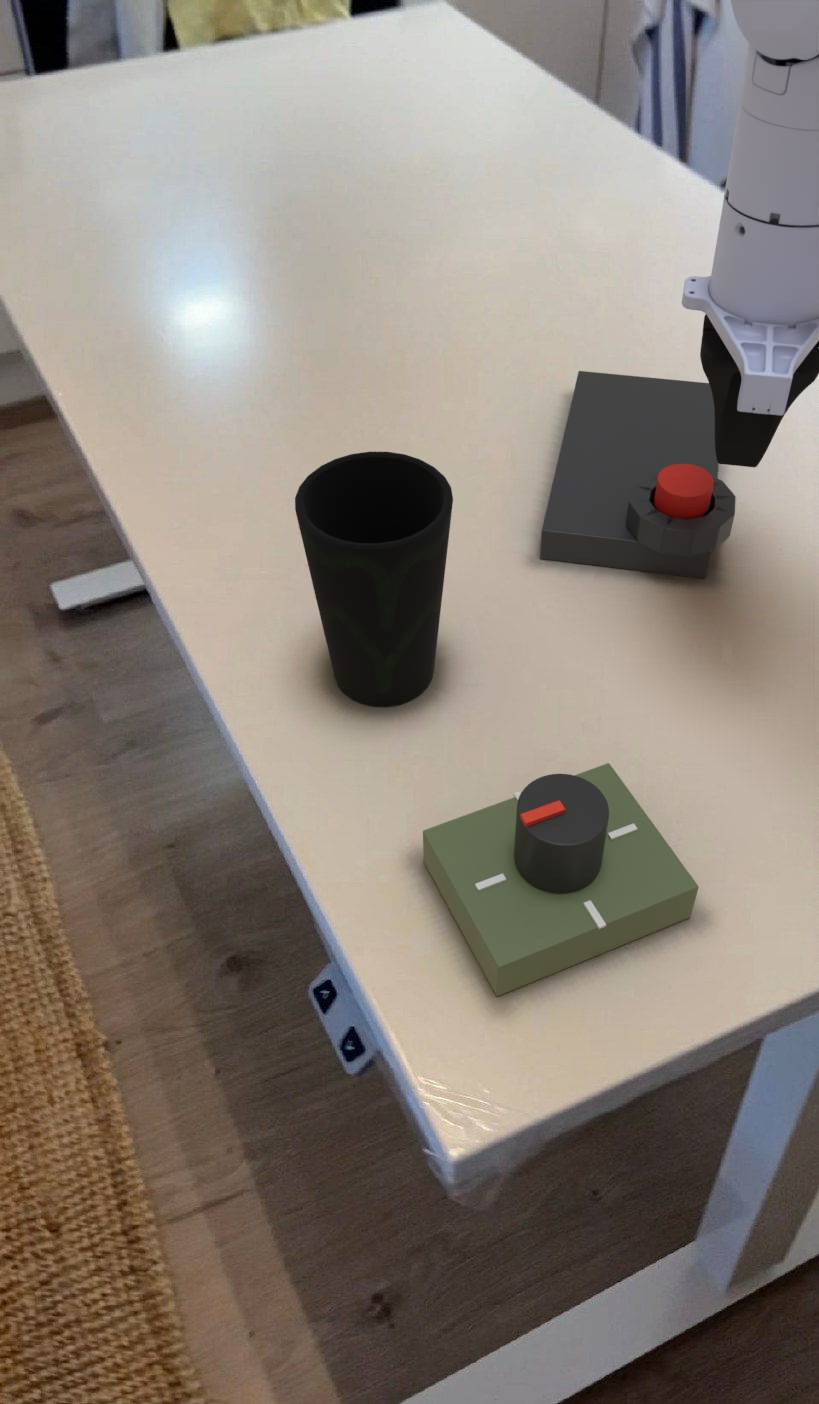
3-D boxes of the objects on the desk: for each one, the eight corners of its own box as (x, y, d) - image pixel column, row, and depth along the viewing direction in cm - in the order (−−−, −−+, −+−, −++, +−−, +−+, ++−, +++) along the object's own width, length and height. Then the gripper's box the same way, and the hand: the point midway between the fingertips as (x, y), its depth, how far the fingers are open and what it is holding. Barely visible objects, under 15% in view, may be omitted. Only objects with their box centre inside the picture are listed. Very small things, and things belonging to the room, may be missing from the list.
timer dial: (575, 811, 56) (582, 757, 53) (618, 875, 54) (627, 822, 51) (499, 839, 55) (501, 785, 52) (538, 906, 53) (543, 853, 50)
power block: (576, 397, 85) (580, 347, 82) (733, 413, 83) (743, 362, 80) (537, 567, 72) (541, 515, 69) (721, 590, 70) (733, 537, 67)
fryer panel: (603, 792, 60) (608, 758, 58) (692, 919, 55) (701, 886, 53) (422, 860, 58) (421, 826, 56) (497, 999, 52) (499, 967, 50)
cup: (396, 742, 63) (387, 568, 54) (287, 681, 66) (261, 508, 57) (479, 659, 67) (483, 484, 58) (373, 605, 70) (361, 432, 61)
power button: (656, 485, 72) (659, 460, 70) (710, 490, 71) (715, 466, 70) (651, 517, 69) (655, 493, 68) (707, 523, 69) (712, 499, 68)
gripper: (706, 128, 58) (669, 376, 67) (687, 269, 48) (647, 535, 58) (858, 136, 56) (798, 388, 66) (869, 283, 47) (797, 552, 57)
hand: (737, 458), depth 62 cm, fingers closed
